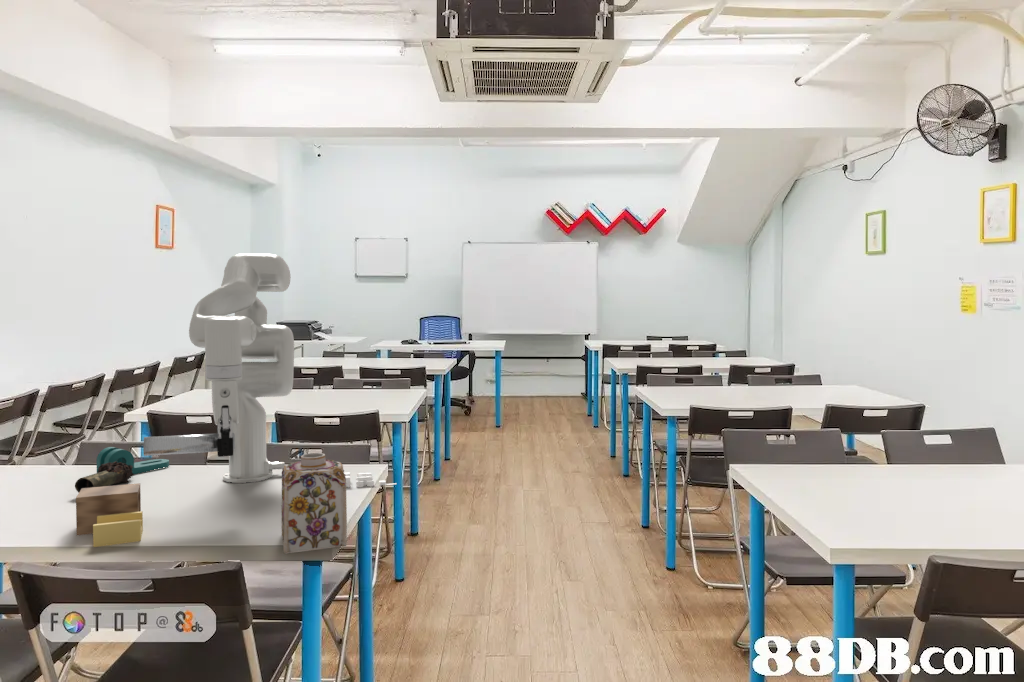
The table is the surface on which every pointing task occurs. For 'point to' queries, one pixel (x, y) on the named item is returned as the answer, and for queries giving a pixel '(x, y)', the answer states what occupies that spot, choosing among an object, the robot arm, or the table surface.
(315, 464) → the decorative jar
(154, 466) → the bracket
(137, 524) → the ochre V-block
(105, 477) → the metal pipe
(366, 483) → the modular blocks
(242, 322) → the robot arm
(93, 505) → the walnut block
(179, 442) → the steel axle
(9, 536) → the table surface
